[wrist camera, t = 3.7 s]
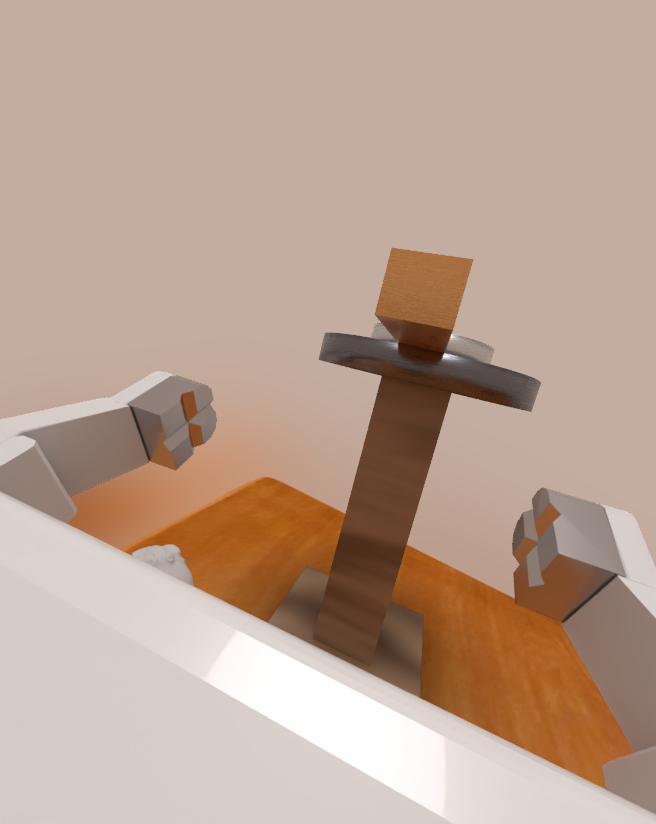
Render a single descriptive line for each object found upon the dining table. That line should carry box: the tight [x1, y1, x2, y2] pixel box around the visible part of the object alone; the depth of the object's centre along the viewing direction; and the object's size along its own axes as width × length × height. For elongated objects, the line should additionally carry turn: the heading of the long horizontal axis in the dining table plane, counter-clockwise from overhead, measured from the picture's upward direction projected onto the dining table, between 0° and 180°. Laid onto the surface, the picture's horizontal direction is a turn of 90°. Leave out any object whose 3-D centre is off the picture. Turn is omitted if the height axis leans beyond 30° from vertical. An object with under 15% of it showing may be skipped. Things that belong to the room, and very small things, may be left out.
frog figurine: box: [131, 545, 194, 586], centre depth 26 cm, size 6×7×7 cm
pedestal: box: [267, 333, 541, 698], centre depth 28 cm, size 16×16×26 cm
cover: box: [371, 248, 494, 364], centre depth 23 cm, size 24×10×2 cm, turn 162°
